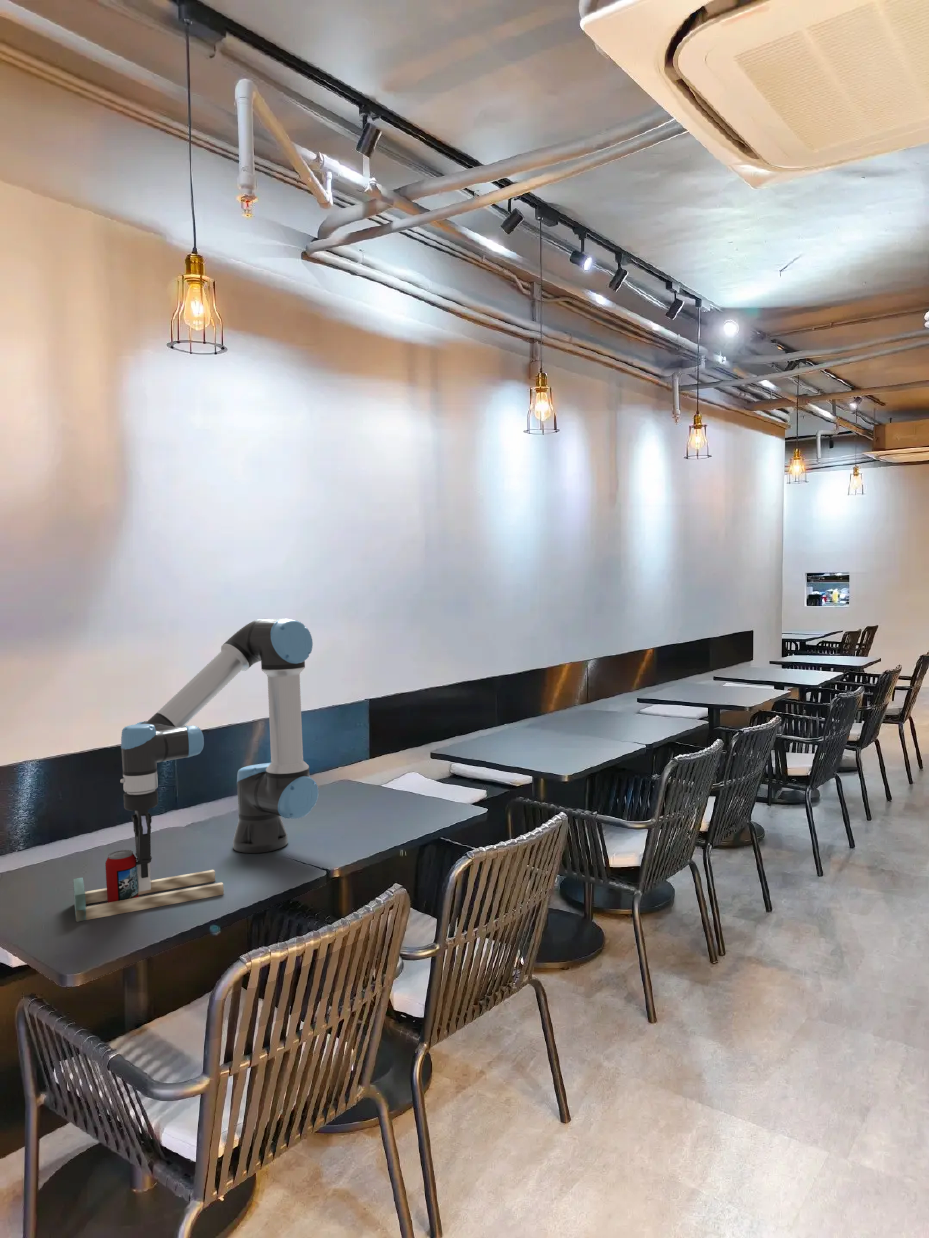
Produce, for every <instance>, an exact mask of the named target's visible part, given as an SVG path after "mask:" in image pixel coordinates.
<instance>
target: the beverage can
mask: <svg viewBox="0 0 929 1238" xmlns="http://www.w3.org/2000/svg"><path fill="white" fill-rule="evenodd" d="M136 858H137V857H136V854H134V851H132V850H130V849H122V850H116V851H112V852H110V853H109V854H108V856H107V858H106V861H105V881H106V884H105V885H106V888H107V903H109V902H115V901H120V900H126V899H132V898H137V897H140V895H138V875H137V865H135V863H136V862H137V859H136Z"/></svg>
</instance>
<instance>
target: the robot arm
mask: <svg viewBox="0 0 929 1238" xmlns="http://www.w3.org/2000/svg"><path fill="white" fill-rule="evenodd" d="M313 644H314V643H313V637H312V634H311V632H310V630H309V629H308V627H307V626H306V625H305V624H304V623H303V622H301V621H300V620H299V621H298V620H295V619H290V618H260V619H259V618H257V619H255V620H253V621H251V622H249V623H247V624H245V625H244V626H243V627H241V628H240V629H239V630H237V631H236V632H234V634H233V635H232V636H231V637H229V638H228V639H227V640H226V641H225V642H224V643H223V644H222V645H221V647H220V652H219V653H218V654H216V656H214V658H213V659H211V661H209V662H208V663H207V664H206V665H205V666H204V667H203V668H202V669H201V670H199V671H198V673H196V675H194V676H193V677H192V678H191V679H190V680H189V682H187V683H186V684H185V685H184V686H183V687H182V688H181V689H179V691H178V692H177V693H175V695H174V696H173V697H171V698H170V699H169V700H168V701H167V702H166V703H165V704H164V705H163V706H162V707H161V708H160V709H159V710H158V711H157V712H156V713H155V714H153V716H151V717H150V718H149V719H148V720H145V721H139V722H137V723H135V724H129V725H127V726H124V727H123V729H122V730H121V736H120V737H121V739H120V740H121V741H120V749H121V761H122V777H123V778H121V779H120V781H119V782H120V783H121V784H123V791H124V793H123V808H124V809H125V810H126V811H131V812H133V811H134V814H131V821H132V823H133V833H134V841H135V843H134V844H135V854H134V855H135V857H136V860H137V862H136V863H135V865H137V876H138V891H139V892H140V891H146V890H151V880H152V879H151V862H152V859H153V857H152V854H151V853H152V852H151V850H152V849H151V846H152V845H151V842H152V841H151V839H152V838H151V833H152V830H151V829H152V825H151V824H152V822H153V821H152V815H151V813H150V812H149V810H150V809H153V808H155V807H157V806H158V804H159V794H158V793H159V792H158V790H157V788H158V769H157V768H158V766H157V765H158V764H157V763H162V762H167V761H173V760H179V759H184V758H187V759H188V758H191V757H193V756H197V755H200V754H201V752H202V751H203V749H204V745H205V739H204V738H205V737H204V734H203V731H202V730H201V728H199V726H197V725H187V724H188V723H189V722H190V721H192V719H193V718H194V717H195V716H196V715H197V714H199V713H200V712H201V710H202V709H204V707H206V705H208V703H210V702H211V701H212V700H213V699H214V697H216V696H217V694H219V693H220V692H221V691H222V690H223V689H224V688H225V687H226V686H227V685H228V684H229V683H230V682H231V681H232V680H233V679H234V678H236V677H237V675H238V674H239V673H241V671H244V672H245V671H248V670H249V669H250V668H251V667H252V666H253V665H255V664H256V663H258V662H260V667H261V669H260V670H261V671H262V672H263V673H264V674H265V675H266V676H267V691H268V692H267V693H268V695H267V696H268V716H269V717H268V718H269V719H268V720H269V741H270V742H269V743H270V746H269V747H270V762H266V763H265V762H264V763H259V764H258V763H257V764H251V765H247V766H244V767H241V768H239V769H238V771H237V775H236V786H237V788H236V789H237V809H238V811H237V812H238V821H237V825H236V828H235V832H234V835H233V838H232V845H233V846H232V847H233V848H232V849H234V850H235V852H239V853H246V854H260V853H261V854H262V853H268V852H272V851H277V850H279V849H282V848H284V847H285V846H287V845H288V842H289V841H288V833H287V830H286V828H285V827H286V826H285V825H284V822H283V820H282V818H283V819H292V820H297V819H298V820H299V819H302V818H304V817H306V816H307V815H308V814H310V813H311V812H312V809H313V808H314V807H315V806H316V804H317V801H318V799H319V792H320V791H319V787H318V784H317V782H316V781H315V779H314V778H312V777H310V765H309V764H307V762H306V761H304V751H303V750H304V747H303V745H304V744H303V726H302V725H303V723H302V722H303V721H302V701H301V700H302V699H301V677H300V676H301V675H300V674H302V672H303V671H304V669H305V668H306V662H305V661H306V660H307V659H308V658H309V657H310V654H311V653H312V650H313Z"/></svg>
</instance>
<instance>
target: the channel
mask: <svg viewBox="0 0 929 1238" xmlns="http://www.w3.org/2000/svg"><path fill="white" fill-rule="evenodd" d="M72 881H73V882H72V883H73V901H74V902H73V905H74V913H75V921H76V922H78V923H79V922H83V921H89V920H94V919H99V918H104V917H111V916H116V915H119V914H120V915H121V914H125V913H132V912H137V911H142V910H148V909H154V908H158V907H162V906H163V907H164V906H168V905H170V906H171V905H174V904H179V903H185V902H189V901H197V900H200V899H201V900H202V899H207V898H212V897H218V896H224V895H225V894H224V883H223V882H222V881H221V882H216V871H215V869H209V870H203V871H197V872H191V873H187V874H186V873H185V874H180V875H175V876H174V875H173V876H167V877H163V878H158V879H151V890H146V891H140V892H139V891H138V896H139V897H137V898H132V899H126V900H120V901H115V902H109V903H108V900H107V887H105V888H104V887H103V888H99V889H93V890H88V891H86V890H85V883H84V878H83V877H78V878H73V879H72ZM212 882H216V883H212ZM207 883H208V884H207ZM209 883H211V884H209ZM201 884H203V885H201ZM204 884H205V885H204ZM195 885H199V886H195ZM189 886H194V887H189ZM184 887H185V888H184ZM186 887H188V888H186ZM178 888H179V889H178ZM180 888H183V889H180ZM174 889H177V890H174ZM167 890H168V891H167ZM169 890H171V891H169ZM162 891H166V892H162ZM156 892H159V893H156ZM151 893H155V894H151ZM144 894H145V896H144ZM146 894H149V895H146ZM140 895H143V896H140ZM106 901H107V902H106ZM100 902H105V903H100ZM94 903H98V904H94ZM99 903H100V904H99ZM89 904H93V905H89ZM87 905H88V906H87Z"/></svg>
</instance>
